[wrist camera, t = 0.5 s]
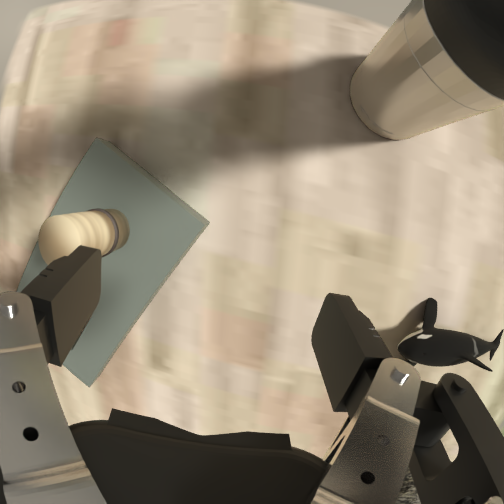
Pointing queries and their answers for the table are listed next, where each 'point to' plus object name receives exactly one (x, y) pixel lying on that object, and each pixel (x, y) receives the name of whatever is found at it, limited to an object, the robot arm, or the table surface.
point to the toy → (444, 344)
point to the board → (122, 248)
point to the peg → (83, 233)
